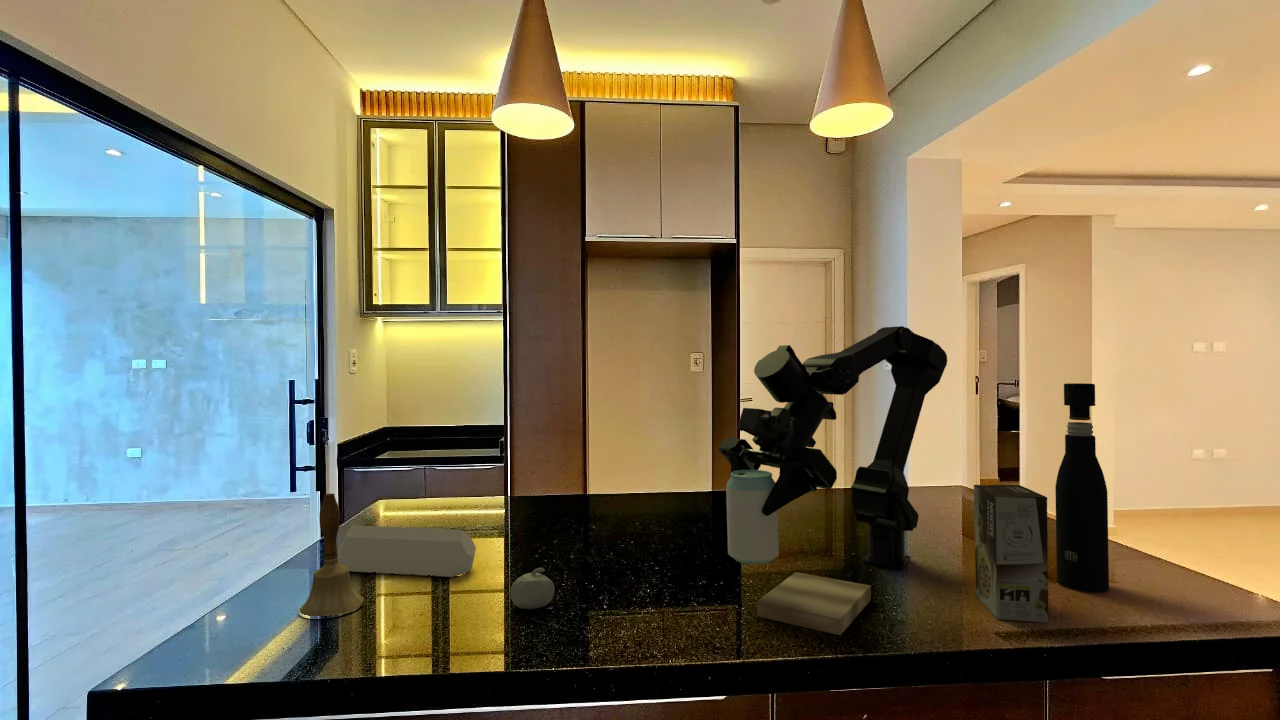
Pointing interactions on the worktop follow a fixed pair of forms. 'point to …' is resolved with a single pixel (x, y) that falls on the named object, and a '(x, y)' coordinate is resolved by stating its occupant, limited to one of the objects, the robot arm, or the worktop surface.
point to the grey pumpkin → (532, 590)
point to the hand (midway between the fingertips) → (745, 508)
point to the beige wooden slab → (815, 602)
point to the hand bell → (331, 571)
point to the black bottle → (1081, 501)
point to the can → (751, 518)
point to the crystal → (407, 551)
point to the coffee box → (1011, 552)
